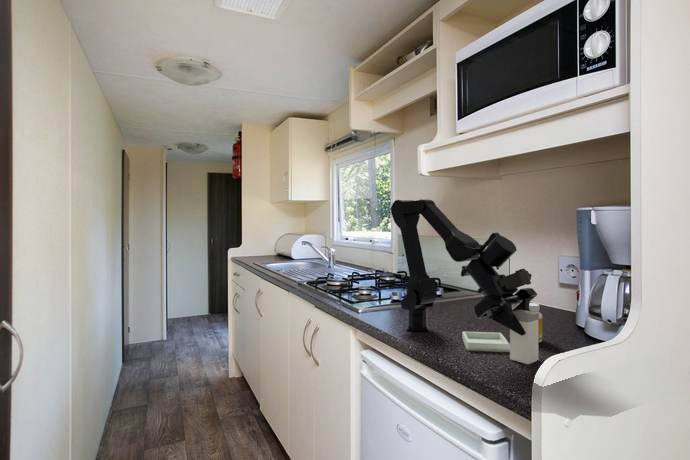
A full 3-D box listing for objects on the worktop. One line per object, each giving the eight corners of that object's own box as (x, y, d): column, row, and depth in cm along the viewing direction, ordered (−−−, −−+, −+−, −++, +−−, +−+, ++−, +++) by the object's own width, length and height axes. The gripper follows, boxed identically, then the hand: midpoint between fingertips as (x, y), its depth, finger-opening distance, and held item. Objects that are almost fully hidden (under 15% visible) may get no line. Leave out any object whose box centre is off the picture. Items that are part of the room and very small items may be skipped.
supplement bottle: (536, 337, 111) (535, 302, 111) (546, 343, 106) (546, 306, 105) (516, 337, 111) (516, 302, 110) (526, 343, 105) (526, 306, 105)
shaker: (509, 359, 94) (509, 312, 94) (520, 355, 96) (520, 309, 96) (528, 364, 90) (527, 315, 90) (538, 360, 93) (538, 312, 93)
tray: (462, 338, 110) (462, 331, 110) (500, 340, 108) (500, 332, 108) (467, 350, 100) (467, 342, 100) (509, 352, 99) (509, 344, 99)
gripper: (484, 260, 90) (531, 319, 82) (529, 255, 101) (575, 306, 93) (456, 290, 97) (497, 347, 88) (501, 283, 108) (542, 332, 99)
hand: (529, 332), depth 92 cm, fingers closed on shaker, 4 cm apart
